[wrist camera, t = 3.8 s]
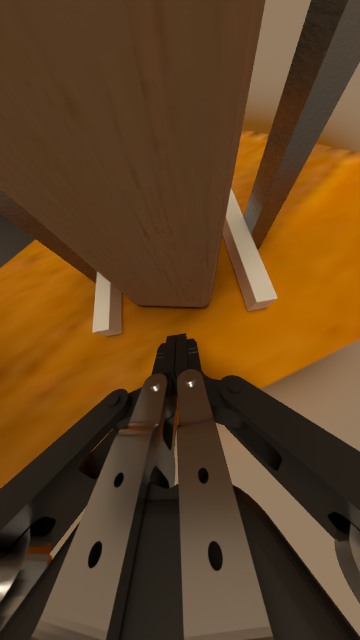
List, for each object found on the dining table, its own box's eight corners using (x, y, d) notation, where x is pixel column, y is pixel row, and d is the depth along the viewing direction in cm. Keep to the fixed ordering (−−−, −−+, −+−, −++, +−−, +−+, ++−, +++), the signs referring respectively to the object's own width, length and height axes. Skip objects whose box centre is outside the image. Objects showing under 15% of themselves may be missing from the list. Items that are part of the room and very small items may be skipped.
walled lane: (107, 336, 17) (92, 332, 14) (112, 199, 26) (103, 182, 23) (265, 308, 15) (277, 298, 13) (213, 170, 24) (214, 149, 21)
